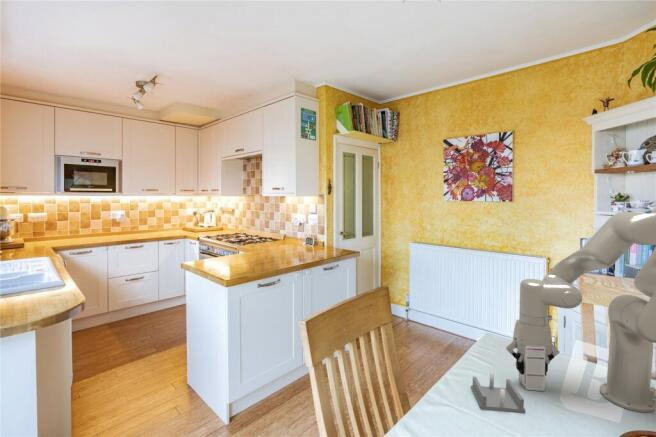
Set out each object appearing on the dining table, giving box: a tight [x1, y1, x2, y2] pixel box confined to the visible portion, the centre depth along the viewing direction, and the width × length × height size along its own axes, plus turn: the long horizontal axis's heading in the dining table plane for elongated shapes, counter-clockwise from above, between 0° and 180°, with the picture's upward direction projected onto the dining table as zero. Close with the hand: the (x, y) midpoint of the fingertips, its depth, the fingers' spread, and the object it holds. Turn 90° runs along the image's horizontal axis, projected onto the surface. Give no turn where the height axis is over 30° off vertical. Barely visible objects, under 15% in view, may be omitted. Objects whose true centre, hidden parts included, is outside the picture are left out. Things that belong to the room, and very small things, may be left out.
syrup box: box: [518, 346, 546, 392], centre depth 104 cm, size 6×6×14 cm
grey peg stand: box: [470, 371, 526, 414], centre depth 98 cm, size 12×10×6 cm
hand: (531, 372), depth 104 cm, fingers closed on syrup box, 6 cm apart
